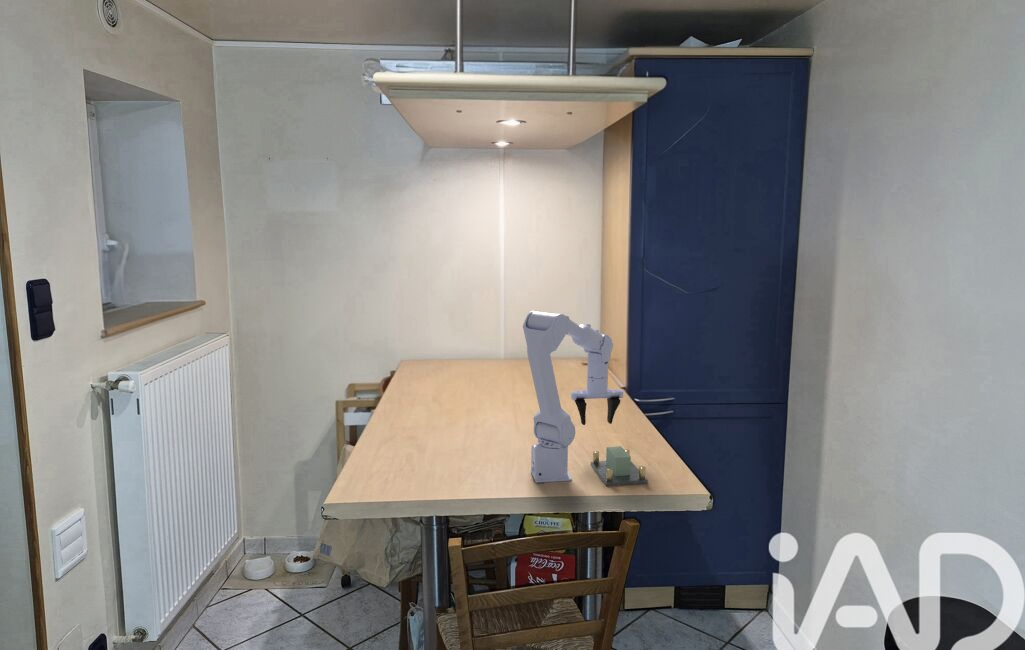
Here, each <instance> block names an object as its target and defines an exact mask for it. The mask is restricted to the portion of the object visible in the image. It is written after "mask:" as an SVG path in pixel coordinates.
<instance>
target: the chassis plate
mask: <svg viewBox="0 0 1025 650" xmlns="http://www.w3.org/2000/svg"><path fill="white" fill-rule="evenodd" d="M624 450H625V451H626V452H627V453H628V454H629V455H630V456H631V454H630V452H631V451H630V450H629V449H627V448H626V449H624ZM590 467H591V468H592V469H593V470H594V472H595V474H597V477H599V479H600V480H601V482H602V483H603V484H604V486H605V487H610V486H611V487H613V486H630V485H645V484H648V481H649V480H648V478H647V477H646V467H645V466H643V465H641V466H639V467H637V466H636V465H635V464H634V463H633V461H631V462H630V475H625V476H615V475H614V474H613V469H612V468H608V467H607V465H606V460H600V451H598V450H595V451H594V450H593V451H592V461H590Z"/></svg>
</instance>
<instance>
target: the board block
mask: <svg viewBox="0 0 1025 650" xmlns="http://www.w3.org/2000/svg"><path fill="white" fill-rule="evenodd" d="M625 450H626V449H624V448H623V447H622V446H620V445H619V446H606V451H605V455H606V456H605V457H606V459H605V461H606V465H607V467H608V468H612V469H613V474H614V475H615V476H625V475H630V462H632V461H631V458H632V457H631V454H630V455H629V454H628V453H627V452H626V451H625Z"/></svg>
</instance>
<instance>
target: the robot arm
mask: <svg viewBox="0 0 1025 650" xmlns="http://www.w3.org/2000/svg"><path fill="white" fill-rule="evenodd" d="M522 329H523V333H524V339H525V343H526V352H527V357H528V363H529V369H530V371H531V376H532V377H531V378H532V381H533V384H534V389H535V393H536V399H537V403H538V409H539V410H538V411H537V412H536V413H535V414H534V416H533V418H532V420H533V423H534V424H533V434H534V436H535V438H536V439H537V443H536V444H532V445H531V450H530V460H531V461H530V463H531V464H530V473H531V476H532V477H533V480H534V482H535V483H537V484H538V483H551V482H552V483H553V482H569V481H570V482H571V481H572V480H573V478H572V476H571V474H570V473H569V472H568V471H569V465H568V463H569V446H570V445H571V444H572V443H573V441H574V440H575V436H576V427H575V424H574V423H573V421H572V418H571V415H570V414H569V413H568V412H566V410H564V409H563V408H562V406H561V402H560V401H561V400H560V396H559V391H558V385H557V381H556V377H555V373H554V366H553V363H552V357H551V353H553V352H555V351H557V349H558V348H559V347H560V345H561V343H562V342H563V341H564V338H565V337H566V335H567V336H569V337H571V339H572V341H573V343H574V344H576V345H577V346H580V347H581V348H583V350H584V352H585V353H587V366H586V367H587V368H586V369H587V370H586V371H587V372H586V375H587V377H586V378H587V379H586V389H583V390H576V391H575V390H574V391H570V399H571V400H572V401H574V403H575V405H576V407H577V411H578V413H579V416H580V417H579V418H580V423H581V425H583V426H586V424H587V423H586V422H587V420H586V418H587V417H586V411H587V402H586V400H588V399H589V400H590V399H592V400H593V399H594V400H595V399H606V401H607V403H606V404H607V417H606V419H607V420H606V421H607V423H608V424H610V425H611V424H612V423H613V421H614V416H615V414H616V411H617V409H618V408H619V405H621V399H624V391H623V390H622V389H609V385H608V384H609V361H610V360H611V357H612V356H611V355H612V351H613V349H614V343H613V339H612V337H611V336H609V335H608V334H603V333H601V332H600V331H599V330H598V329H595V328H593V327H592V325H591V324H590V323H583V324H582V323H581V324H579V325H578V323H576V322H574V321H573V320H572V319H570V316H567V315H565V314H564V313H551V312H546V311H545V312H544V311H538V310H531V311H529V312H528V314H527V315H526V317H525V320H524V322H523V325H522Z"/></svg>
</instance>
